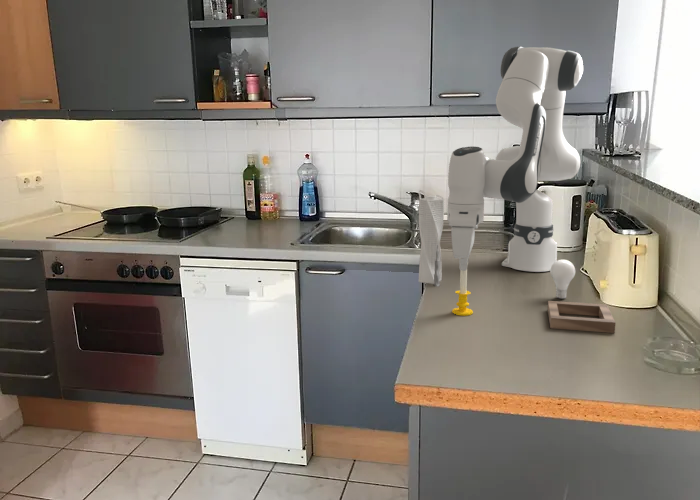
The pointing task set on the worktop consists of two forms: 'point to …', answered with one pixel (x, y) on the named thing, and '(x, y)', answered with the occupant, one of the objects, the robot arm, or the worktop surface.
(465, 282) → the candle
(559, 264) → the lightbulb
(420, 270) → the skyscraper
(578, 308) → the rectangular wooden frame
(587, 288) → the worktop surface
